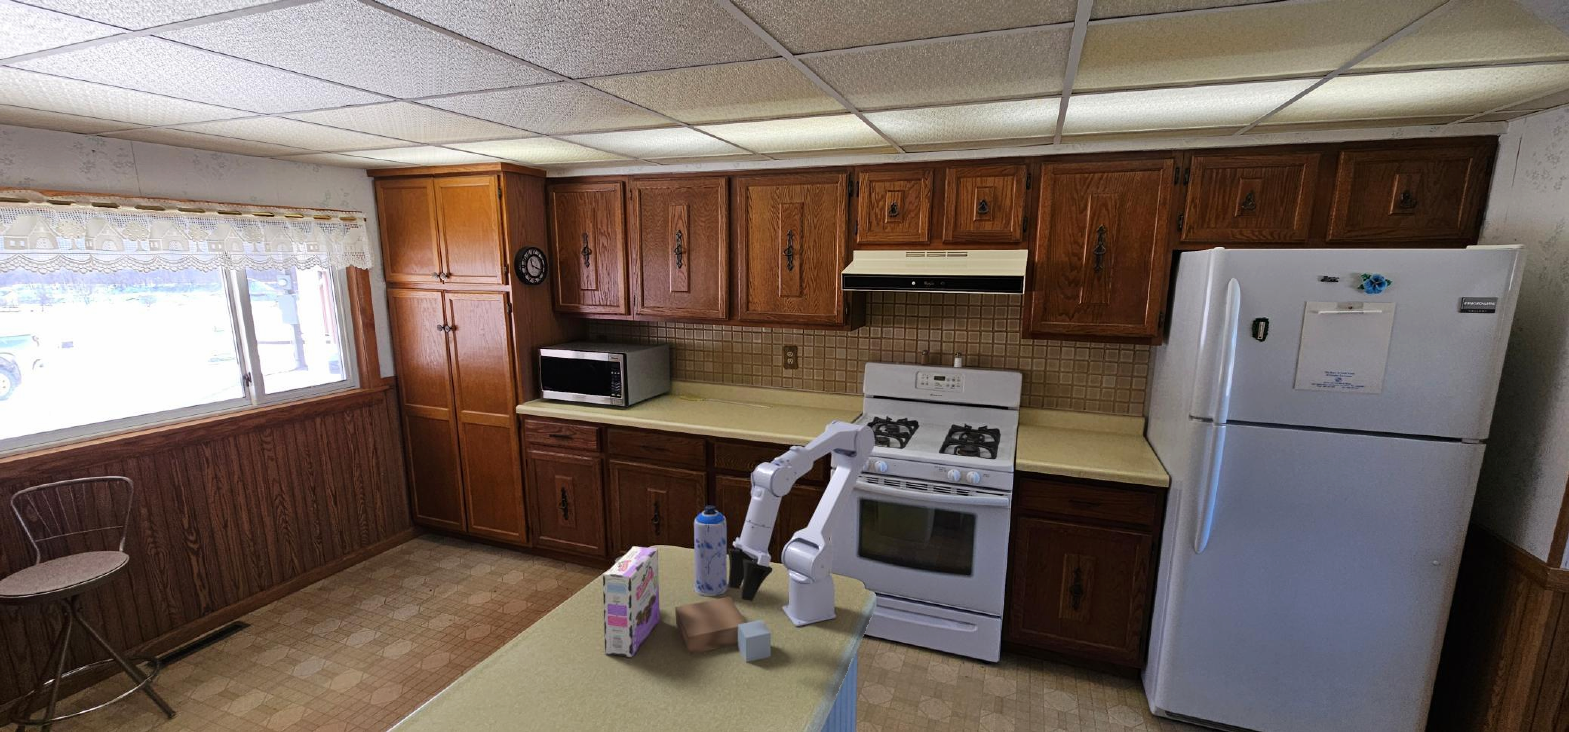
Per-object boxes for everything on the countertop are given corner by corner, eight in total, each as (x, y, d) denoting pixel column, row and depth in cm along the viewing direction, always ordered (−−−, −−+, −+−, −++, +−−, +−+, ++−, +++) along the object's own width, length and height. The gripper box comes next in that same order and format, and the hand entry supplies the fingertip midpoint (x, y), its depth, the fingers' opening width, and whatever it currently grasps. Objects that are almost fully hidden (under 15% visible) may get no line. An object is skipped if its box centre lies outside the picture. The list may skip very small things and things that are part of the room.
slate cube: (761, 642, 123) (761, 619, 123) (770, 656, 119) (770, 632, 118) (737, 648, 121) (737, 624, 121) (745, 662, 117) (745, 637, 116)
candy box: (632, 658, 118) (629, 576, 116) (603, 654, 119) (600, 573, 117) (660, 620, 131) (659, 546, 129) (635, 617, 132) (632, 544, 130)
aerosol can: (732, 582, 148) (731, 502, 146) (721, 598, 141) (720, 514, 138) (701, 578, 150) (700, 499, 147) (689, 594, 142) (687, 511, 140)
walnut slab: (730, 613, 135) (729, 596, 134) (747, 643, 124) (747, 624, 123) (675, 624, 130) (675, 606, 130) (688, 655, 119) (688, 636, 119)
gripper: (729, 512, 126) (710, 579, 124) (753, 527, 113) (732, 601, 111) (760, 520, 129) (741, 585, 127) (787, 535, 115) (767, 608, 113)
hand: (739, 593), depth 119 cm, fingers open, 7 cm apart
